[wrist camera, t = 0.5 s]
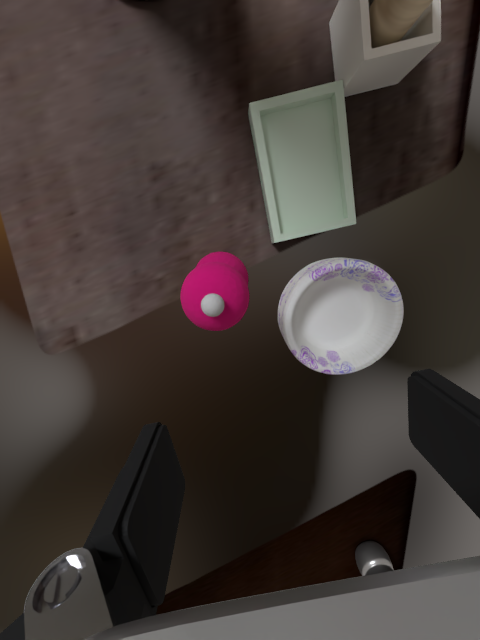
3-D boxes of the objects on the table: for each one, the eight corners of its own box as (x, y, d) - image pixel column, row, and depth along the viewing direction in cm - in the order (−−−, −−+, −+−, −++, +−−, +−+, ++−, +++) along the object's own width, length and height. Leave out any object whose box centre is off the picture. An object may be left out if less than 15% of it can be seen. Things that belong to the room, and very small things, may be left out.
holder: (329, 22, 30) (356, -41, 24) (393, 6, 30) (440, -63, 23) (336, 98, 33) (364, 60, 26) (397, 83, 32) (441, 41, 26)
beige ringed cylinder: (347, 29, 30) (419, -108, 18) (386, 19, 30) (484, -125, 18) (351, 76, 31) (421, -25, 20) (388, 66, 31) (482, -40, 19)
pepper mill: (249, 253, 37) (267, 261, 18) (244, 302, 39) (255, 357, 20) (198, 248, 37) (162, 251, 18) (196, 298, 39) (160, 349, 20)
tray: (247, 113, 33) (249, 103, 30) (334, 91, 32) (342, 79, 30) (271, 243, 37) (274, 243, 35) (348, 225, 37) (356, 223, 34)
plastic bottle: (352, 560, 55) (416, 728, 36) (350, 538, 53) (416, 702, 34) (382, 555, 55) (463, 722, 36) (381, 532, 53) (466, 694, 34)
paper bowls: (275, 356, 42) (285, 381, 34) (272, 260, 38) (282, 264, 30) (369, 349, 42) (400, 372, 34) (376, 252, 38) (412, 253, 30)
